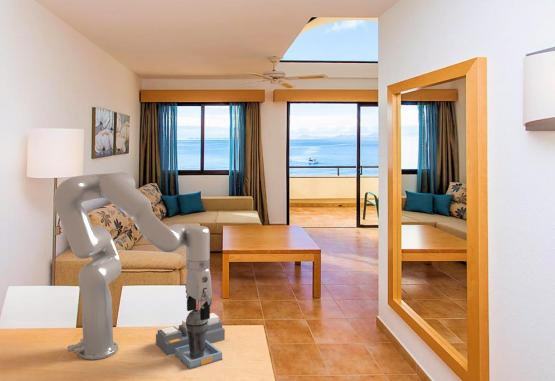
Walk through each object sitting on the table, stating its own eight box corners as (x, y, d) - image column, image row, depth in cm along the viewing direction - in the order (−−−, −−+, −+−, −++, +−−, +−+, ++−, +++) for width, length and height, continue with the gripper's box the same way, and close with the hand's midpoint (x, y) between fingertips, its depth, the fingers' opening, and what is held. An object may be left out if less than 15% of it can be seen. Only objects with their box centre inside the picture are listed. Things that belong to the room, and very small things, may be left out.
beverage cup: (181, 355, 155) (180, 297, 154) (199, 348, 161) (198, 292, 159) (194, 362, 150) (194, 302, 149) (212, 355, 156) (212, 297, 154)
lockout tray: (190, 369, 148) (190, 362, 147) (174, 355, 157) (174, 348, 157) (222, 359, 154) (222, 352, 154) (205, 346, 164) (205, 339, 163)
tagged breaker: (166, 340, 159) (166, 333, 159) (161, 335, 162) (161, 329, 162) (178, 337, 161) (178, 330, 161) (172, 332, 165) (172, 326, 165)
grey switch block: (167, 355, 157) (166, 332, 156) (155, 344, 165) (155, 323, 164) (224, 339, 170) (224, 318, 169) (211, 330, 178) (211, 310, 177)
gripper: (221, 268, 147) (221, 320, 149) (196, 256, 161) (196, 304, 163) (199, 272, 143) (199, 325, 145) (176, 259, 157) (176, 309, 159)
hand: (198, 314), depth 154 cm, fingers open, 9 cm apart
